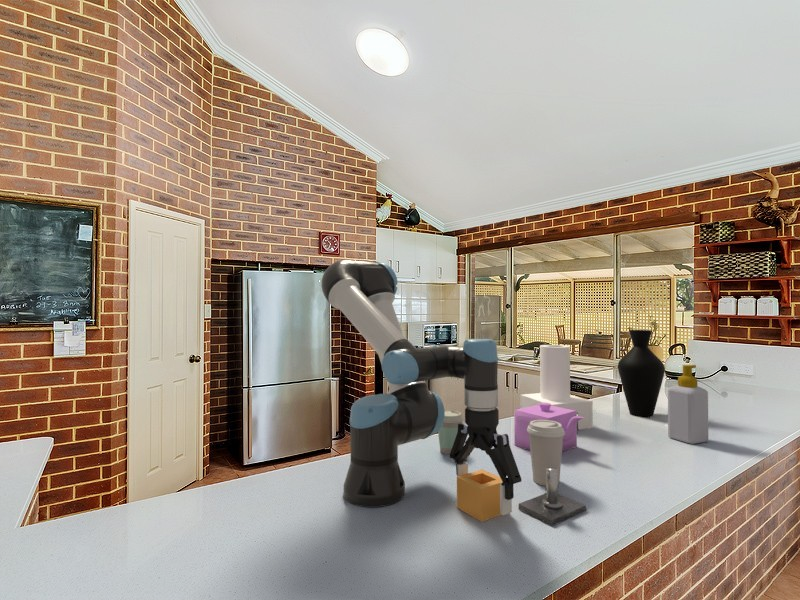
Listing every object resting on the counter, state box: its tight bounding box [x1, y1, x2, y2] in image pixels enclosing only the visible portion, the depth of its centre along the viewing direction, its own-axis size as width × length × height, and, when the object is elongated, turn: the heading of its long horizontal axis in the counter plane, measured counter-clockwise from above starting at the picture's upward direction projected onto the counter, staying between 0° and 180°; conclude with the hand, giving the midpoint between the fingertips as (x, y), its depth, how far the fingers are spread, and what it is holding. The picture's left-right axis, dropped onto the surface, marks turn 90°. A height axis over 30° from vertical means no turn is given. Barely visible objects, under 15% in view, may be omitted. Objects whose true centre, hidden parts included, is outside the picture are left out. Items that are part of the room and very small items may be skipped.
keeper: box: [518, 467, 587, 527], centre depth 98 cm, size 12×9×9 cm
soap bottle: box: [667, 364, 709, 445], centre depth 147 cm, size 9×9×25 cm
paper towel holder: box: [519, 344, 594, 430], centre depth 168 cm, size 19×19×30 cm
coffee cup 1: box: [437, 409, 464, 455], centre depth 137 cm, size 9×8×12 cm
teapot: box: [513, 403, 584, 452], centre depth 141 cm, size 15×25×14 cm, turn 36°
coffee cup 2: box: [527, 420, 565, 487], centre depth 114 cm, size 10×10×15 cm
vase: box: [617, 329, 666, 418], centre depth 180 cm, size 17×17×35 cm
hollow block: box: [456, 468, 502, 522], centre depth 98 cm, size 8×8×7 cm
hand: (483, 501), depth 98 cm, fingers open, 13 cm apart
